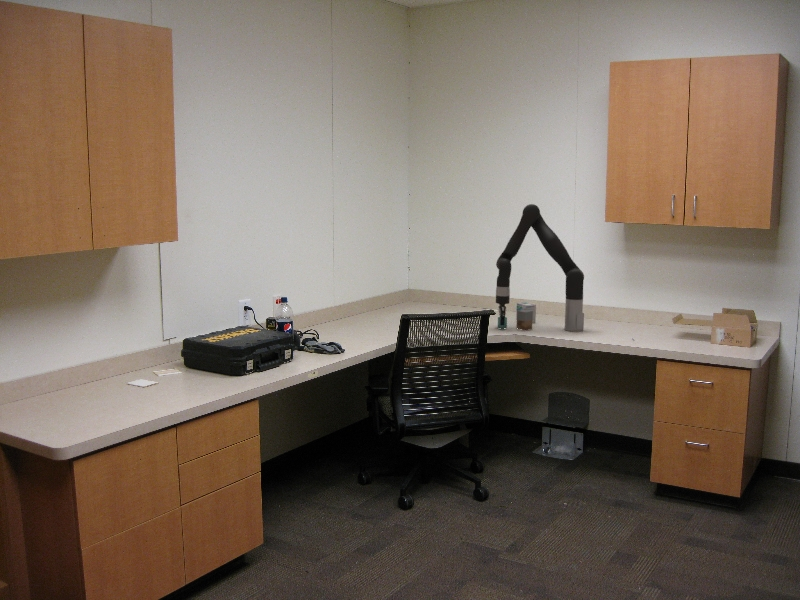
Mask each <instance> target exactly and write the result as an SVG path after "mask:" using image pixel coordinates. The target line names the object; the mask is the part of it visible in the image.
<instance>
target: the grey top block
mask: <svg viewBox="0 0 800 600" xmlns="http://www.w3.org/2000/svg"><path fill="white" fill-rule="evenodd" d="M516 313H517V320H520V321H530V320H533V311H529V310H519V311H517V310H516Z"/></svg>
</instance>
